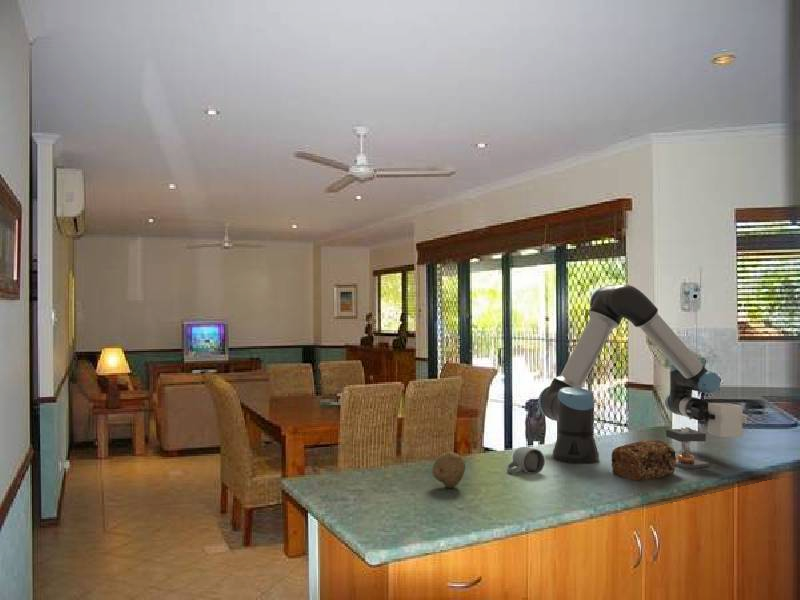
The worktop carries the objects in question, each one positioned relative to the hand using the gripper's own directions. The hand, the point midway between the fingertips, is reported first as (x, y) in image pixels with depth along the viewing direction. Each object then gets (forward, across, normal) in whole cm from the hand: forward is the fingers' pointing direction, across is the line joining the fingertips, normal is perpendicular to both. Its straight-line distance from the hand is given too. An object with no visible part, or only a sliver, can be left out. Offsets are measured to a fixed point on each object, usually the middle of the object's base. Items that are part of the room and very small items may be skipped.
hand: (733, 418), depth 218 cm
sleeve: (-5, 0, -6) cm, 8 cm away
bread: (+7, +33, -17) cm, 38 cm away
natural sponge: (+17, +96, -18) cm, 99 cm away
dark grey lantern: (-5, +13, -16) cm, 21 cm away
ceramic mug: (+1, +69, -17) cm, 72 cm away
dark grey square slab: (-5, +13, -8) cm, 16 cm away
